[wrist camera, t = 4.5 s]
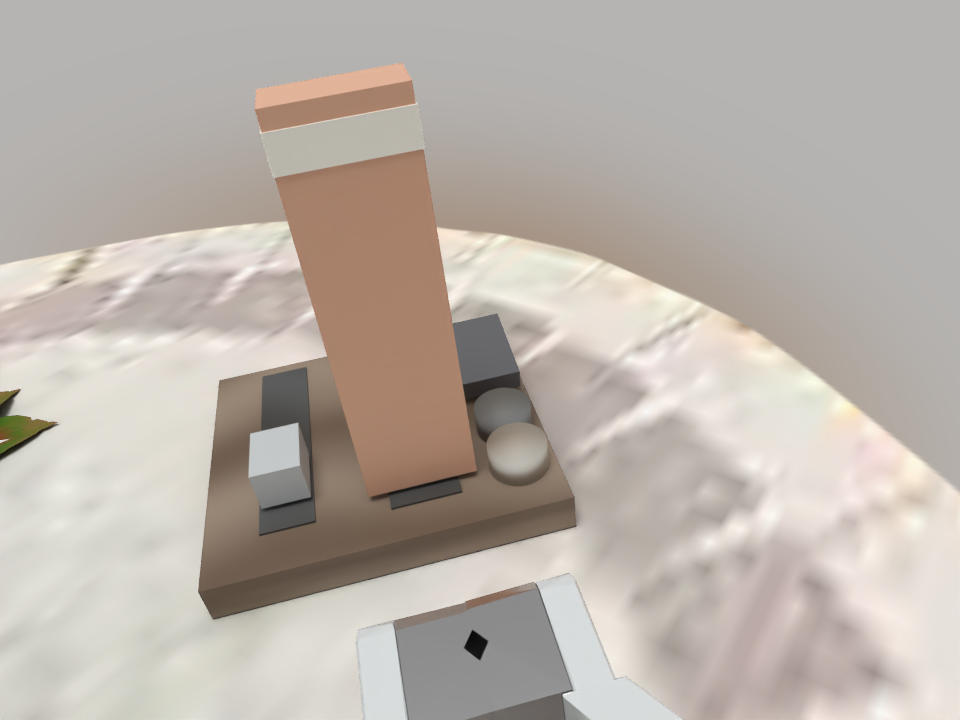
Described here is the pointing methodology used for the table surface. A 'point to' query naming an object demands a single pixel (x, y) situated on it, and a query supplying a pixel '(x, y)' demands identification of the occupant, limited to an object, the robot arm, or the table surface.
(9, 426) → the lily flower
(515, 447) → the walnut control box
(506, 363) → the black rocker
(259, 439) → the grey fader knob
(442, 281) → the terracotta paddle
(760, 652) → the table surface
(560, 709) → the robot arm
